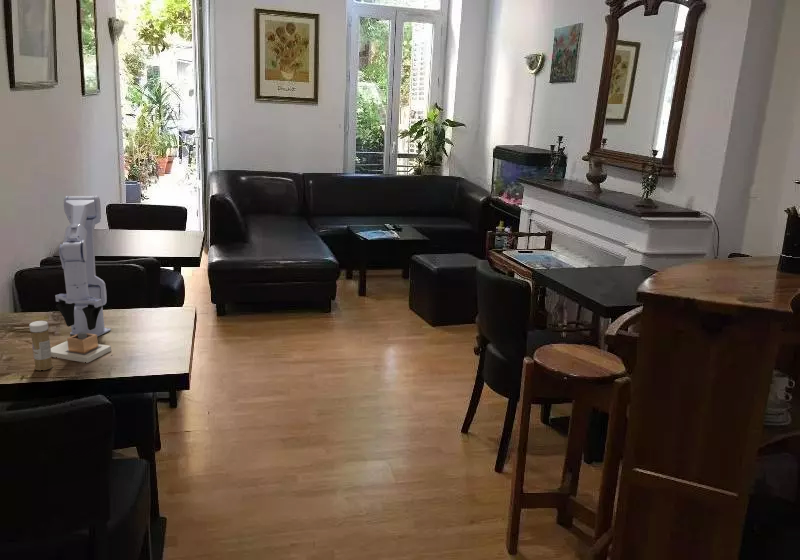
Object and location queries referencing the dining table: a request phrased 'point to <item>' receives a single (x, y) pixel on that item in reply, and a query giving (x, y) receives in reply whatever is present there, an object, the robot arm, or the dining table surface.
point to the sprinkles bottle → (41, 345)
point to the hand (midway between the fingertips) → (81, 327)
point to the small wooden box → (82, 343)
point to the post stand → (64, 353)
